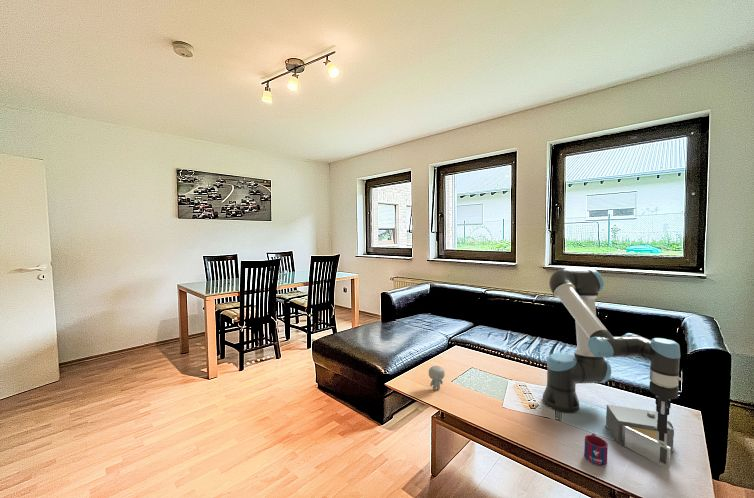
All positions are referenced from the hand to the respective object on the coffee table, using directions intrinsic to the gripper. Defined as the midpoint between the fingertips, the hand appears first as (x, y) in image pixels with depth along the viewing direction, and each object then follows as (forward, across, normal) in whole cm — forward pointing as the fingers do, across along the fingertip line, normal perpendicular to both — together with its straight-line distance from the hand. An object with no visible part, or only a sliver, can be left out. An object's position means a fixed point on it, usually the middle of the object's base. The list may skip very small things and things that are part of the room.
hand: (661, 447), depth 111 cm
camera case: (+4, +10, +6) cm, 12 cm away
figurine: (+5, -12, +86) cm, 87 cm away
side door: (+4, -3, +4) cm, 6 cm away
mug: (+5, -14, +17) cm, 23 cm away
